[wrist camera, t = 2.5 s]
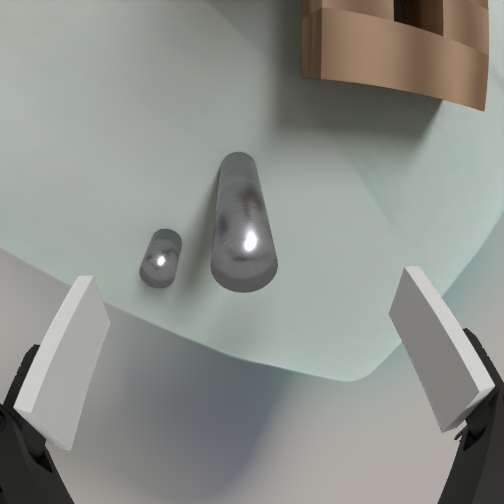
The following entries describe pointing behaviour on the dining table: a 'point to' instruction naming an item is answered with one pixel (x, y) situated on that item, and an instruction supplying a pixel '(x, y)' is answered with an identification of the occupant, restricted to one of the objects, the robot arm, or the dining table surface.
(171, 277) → the short pin
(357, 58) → the socket block
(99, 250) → the dining table surface
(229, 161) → the long pin
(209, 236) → the dining table surface
